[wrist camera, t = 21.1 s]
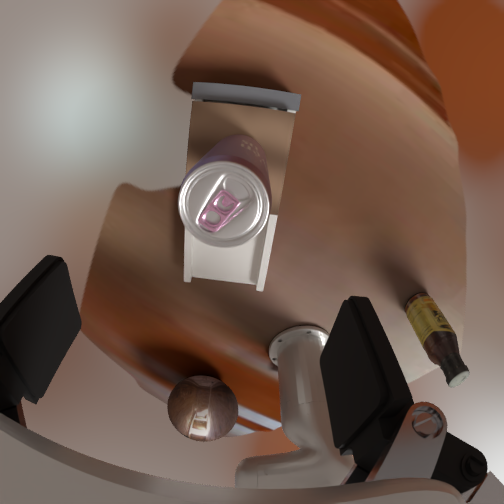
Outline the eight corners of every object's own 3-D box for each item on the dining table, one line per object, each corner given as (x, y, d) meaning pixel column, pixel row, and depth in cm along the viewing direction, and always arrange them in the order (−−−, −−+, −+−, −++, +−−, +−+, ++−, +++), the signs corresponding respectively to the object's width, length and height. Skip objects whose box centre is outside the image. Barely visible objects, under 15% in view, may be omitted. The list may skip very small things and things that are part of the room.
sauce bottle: (434, 300, 48) (479, 373, 31) (411, 319, 51) (450, 396, 33) (421, 284, 46) (472, 362, 29) (397, 305, 49) (439, 387, 31)
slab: (274, 201, 37) (277, 215, 33) (192, 191, 37) (184, 203, 33) (290, 112, 32) (295, 113, 27) (200, 101, 31) (192, 101, 27)
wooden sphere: (234, 360, 56) (230, 424, 43) (243, 397, 63) (241, 451, 50) (165, 361, 56) (150, 419, 43) (184, 397, 64) (175, 448, 51)
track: (262, 279, 46) (263, 299, 41) (187, 270, 45) (181, 289, 41) (295, 96, 32) (301, 94, 28) (201, 84, 31) (193, 82, 27)
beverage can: (200, 164, 30) (156, 213, 17) (235, 122, 28) (214, 137, 15) (241, 196, 32) (230, 267, 19) (277, 157, 30) (293, 202, 17)
